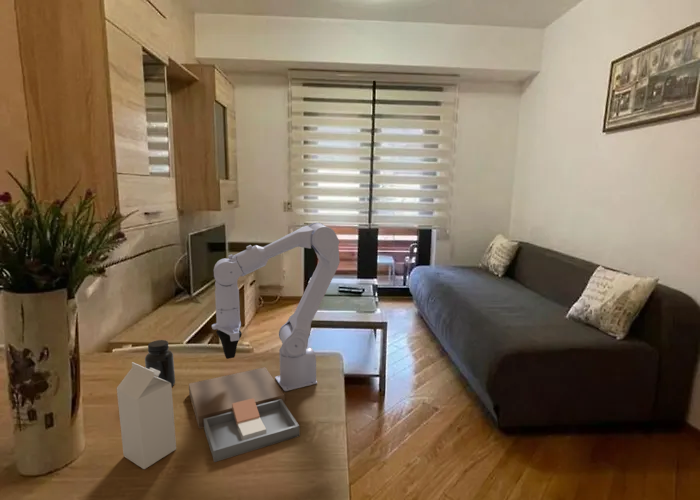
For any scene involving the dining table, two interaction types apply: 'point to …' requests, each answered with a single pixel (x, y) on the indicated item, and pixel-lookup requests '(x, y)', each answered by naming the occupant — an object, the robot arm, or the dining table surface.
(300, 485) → the dining table surface
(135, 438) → the milk carton
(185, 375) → the dining table surface
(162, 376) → the supplement bottle
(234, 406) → the terracotta tile
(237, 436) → the tray
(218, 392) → the plate
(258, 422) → the cream tile
